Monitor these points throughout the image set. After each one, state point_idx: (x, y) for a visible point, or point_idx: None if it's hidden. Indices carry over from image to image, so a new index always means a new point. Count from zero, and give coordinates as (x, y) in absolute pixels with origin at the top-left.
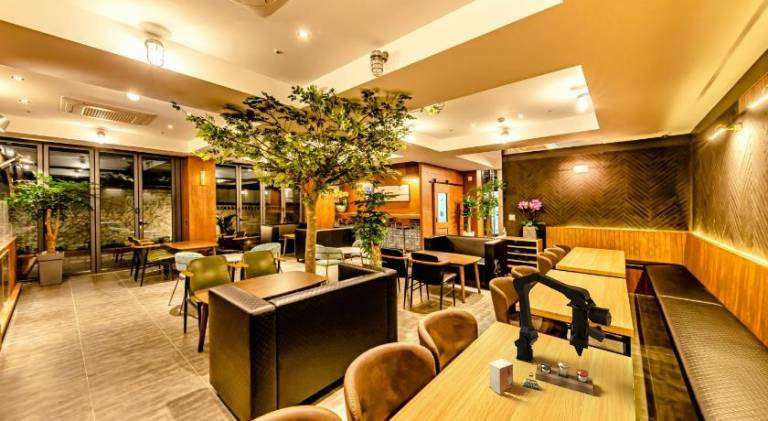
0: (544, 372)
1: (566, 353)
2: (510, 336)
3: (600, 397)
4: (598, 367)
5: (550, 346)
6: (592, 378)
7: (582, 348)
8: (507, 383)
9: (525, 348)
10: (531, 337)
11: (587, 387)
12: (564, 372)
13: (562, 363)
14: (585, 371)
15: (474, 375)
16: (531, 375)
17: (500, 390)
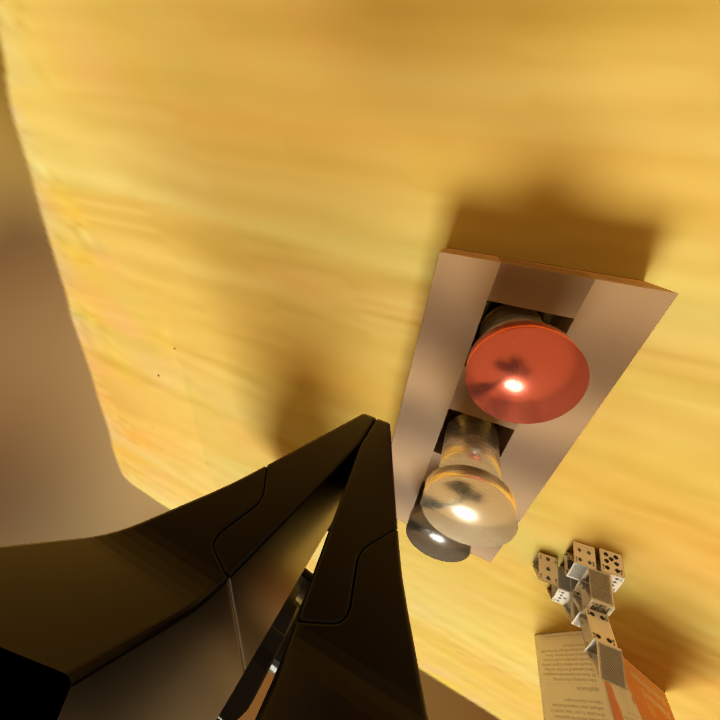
0: None
1: (165, 320)
2: (178, 480)
3: (669, 222)
4: (200, 168)
5: (153, 371)
6: (452, 255)
7: (400, 595)
8: (635, 692)
9: (307, 571)
10: (264, 659)
11: (647, 333)
12: (499, 470)
13: (469, 521)
14: (510, 347)
15: (526, 690)
16: (597, 646)
17: (665, 697)
